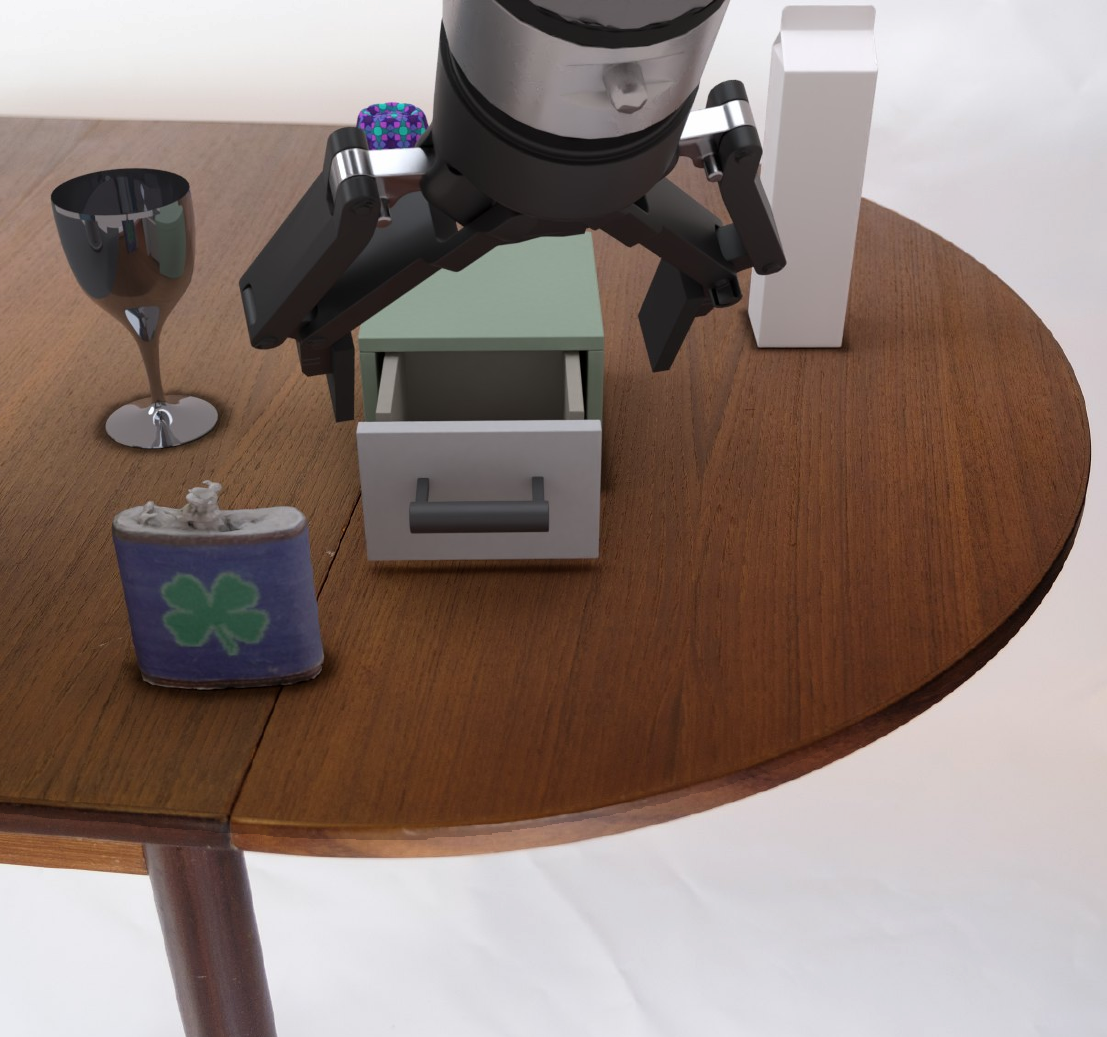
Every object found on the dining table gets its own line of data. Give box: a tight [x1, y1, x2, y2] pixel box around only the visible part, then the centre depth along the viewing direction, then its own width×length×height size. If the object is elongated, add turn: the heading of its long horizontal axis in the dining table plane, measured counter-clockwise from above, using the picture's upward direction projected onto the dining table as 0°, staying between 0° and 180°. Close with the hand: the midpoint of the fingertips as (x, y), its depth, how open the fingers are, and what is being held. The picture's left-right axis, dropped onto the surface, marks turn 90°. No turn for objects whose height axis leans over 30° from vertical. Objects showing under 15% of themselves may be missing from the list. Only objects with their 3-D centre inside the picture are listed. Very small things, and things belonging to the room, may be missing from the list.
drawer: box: [355, 350, 603, 562], centre depth 80 cm, size 19×13×8 cm, turn 1°
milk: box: [747, 4, 879, 348], centre depth 98 cm, size 6×6×22 cm
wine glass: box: [50, 167, 219, 449], centre depth 89 cm, size 8×8×15 cm
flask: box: [111, 479, 325, 691], centre depth 69 cm, size 9×3×11 cm, turn 91°
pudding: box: [355, 101, 430, 150], centre depth 130 cm, size 12×12×5 cm
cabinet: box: [357, 231, 605, 487], centre depth 90 cm, size 16×14×10 cm
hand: (499, 367), depth 61 cm, fingers open, 13 cm apart
